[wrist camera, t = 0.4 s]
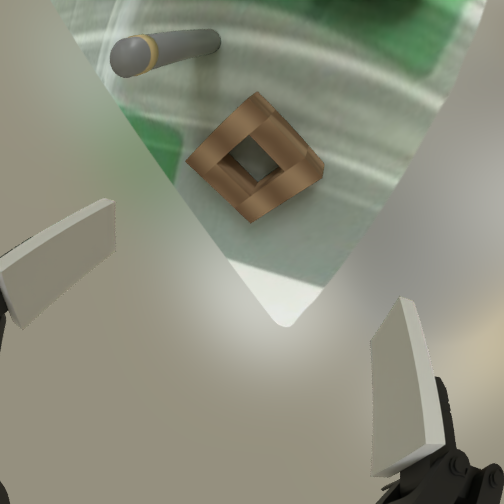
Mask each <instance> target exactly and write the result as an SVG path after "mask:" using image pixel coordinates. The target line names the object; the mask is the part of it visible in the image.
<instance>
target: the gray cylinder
mask: <svg viewBox="0 0 504 504" xmlns="http://www.w3.org/2000/svg"><path fill="white" fill-rule="evenodd" d="M220 44H221V38H220V36H219V34H218V33H217V32H216V31H214V30H212V29H197V30H182V31H171V32H162V33H154V34H147V35H144V34H141V35H135V36H130V37H128V38H124V39H121V40H119V41H118V42H117V43H116V44H115V45H114V47H113V48H112V50H111V54H110V64H111V67H112V69H113V71H114V72H115V73H116V74H117V75H118V76H120V77H124V78H129V77H132V76H138V75H141V74H143V73H146V72H148V71H150V70H152V69H155V68H158V67H161V66H165V65H168V64H171V63H175V62H179V61H182V60H186V59H190V58H194V57H198V56H202V55H207V54H211V53H213V52H215V51H216V50H217V49H218V48H219V46H220Z"/></svg>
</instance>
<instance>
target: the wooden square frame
mask: <svg viewBox="0 0 504 504" xmlns="http://www.w3.org/2000/svg"><path fill="white" fill-rule="evenodd" d="M248 135H250V136H251V137H252V138H253V139H254V140H255V141H256V142H257V143H258V144H259V145H260V146H261V147H262V149H263V150H264V151H265V152H266V153H267V154H268V155H269V156H270V157H271V158H272V159H273V160H274V161H275V162H276V163H277V164H278V165H279V167H278V168H277V169H275V170H274V171H272V172H271V173H270V174H268V175H267V176H266V177H264V178H263V179H262V180H260V181H259V182H257V181H256V180H255V179H254V178H253V177H252V176H251V175H250V174H249V173H248V172H247V171H246V170H245V169H244V168H243V167H242V166H241V165H240V164H239V163H238V162H237V161H236V160H235V159H234V158H233V157H232V156H231V155H230V154H229V152H230V151H231V150H232V149H233V148H234V147H235V146H236V145H238V144H239V143H240V142H241V141H242V140H243V139H244V138H246V137H247V136H248ZM185 162H186V163H187V164H188V165H189V166H190V167H192V168H193V169H194V170H195V171H196V172H197V173H198V174H199V175H200V176H201V177H202V178H203V179H204V180H205V181H206V182H208V183H209V184H210V185H211V186H212V187H213V188H214V189H215V190H216V191H217V192H218V193H219V194H220V195H221V196H222V197H223V198H224V199H226V200H227V201H228V202H229V203H230V204H231V205H232V206H233V207H234V208H235V209H236V210H237V211H238V212H239V213H240V214H241V215H242V216H243V217H244V218H245V219H246V220H248V221H249V222H250V223H252V222H254V221H255V220H257V219H258V218H260V217H261V216H263V215H265V214H266V213H268V212H269V211H271V210H272V209H274V208H275V207H277V206H279V205H280V204H282V203H283V202H285V201H286V200H288V199H290V198H291V197H293V196H294V195H296V194H297V193H299V192H301V191H302V190H304V189H305V188H307V187H309V186H310V185H312V184H313V183H315V182H317V181H318V180H320V179H321V178H322V176H323V170H324V163H323V162H322V161H321V159H320V158H319V157H318V156H317V155H316V154H315V152H314V151H313V150H312V149H311V148H310V147H309V145H308V144H307V143H306V142H305V141H304V140H303V139H302V138H301V136H300V135H299V134H298V133H297V132H296V131H295V130H294V129H293V128H292V127H291V125H290V124H289V123H288V122H287V121H286V120H285V119H284V118H283V117H282V116H281V115H280V114H279V113H278V112H277V111H276V110H275V109H274V108H273V107H272V106H271V104H270V103H269V102H268V101H267V100H266V99H265V98H264V97H263V96H262V95H261V94H260V93H258V92H256V93H254V94H253V95H252V96H250V97H249V98H248V99H247V100H246V101H244V102H243V103H242V104H241V105H240V106H239V107H238V108H237V109H236V110H235V111H234V112H233V113H232V114H231V115H230V116H229V117H228V118H227V119H225V120H224V121H223V122H222V123H221V124H220V125H219V126H218V127H217V128H216V129H215V130H214V131H213V132H212V133H211V134H210V135H209V137H208V138H207V139H206V140H205V141H204V142H203V143H202V144H201V145H200V146H199V147H198V148H197V149H196V150H195V151H194V152H193V153H192V154H191V155H190V157H189V158H188V159H187V160H186V161H185Z"/></svg>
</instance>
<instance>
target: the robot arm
mask: <svg viewBox="0 0 504 504" xmlns="http://www.w3.org/2000/svg"><path fill="white" fill-rule="evenodd" d="M114 252H116V236H115V201H112V200H109V199H106V198H102V199H100V200H98V201H96V202H94V203H92V204H91V205H89V206H87V207H85V208H83V209H81V210H79V211H77V212H75V213H74V214H72V215H70V216H68V217H66V218H64V219H63V220H61V221H59V222H57V223H55V224H54V225H52V226H50V227H49V228H47V229H45V230H44V231H42V232H40V233H38V234H37V235H35V236H34V237H30V238H29V239H27V240H25V241H24V242H22V243H21V245H18V246H16V247H15V248H14V249H11V250H10V251H9V252H7V253H5V254H4V255H3V256H1V257H0V349H1V344H2V338H3V333H4V328H5V324H6V316H5V314H4V313H6V312H7V311H9V313H10V316H11V318H12V320H13V322H14V323H15V324H16V325H18V326H19V327H20V328H21V329H22V330H24V329H25V328H26V327H27V326H28V325H29V324H30V323H31V322H32V321H33V320H34V319H35V318H37V317H38V316H39V315H40V314H41V313H42V312H43V311H44V310H45V309H47V308H48V307H49V306H50V305H51V304H52V303H53V302H54V301H56V300H57V299H58V298H59V297H60V296H61V295H63V294H64V293H65V292H66V291H67V290H68V289H70V288H71V287H72V286H73V285H74V284H75V283H77V282H78V281H79V280H80V279H82V278H83V277H84V276H85V275H87V274H88V273H89V272H90V271H91V270H93V269H94V268H95V267H96V266H98V265H99V264H100V263H102V262H103V261H104V260H105V259H107V258H108V257H109V256H111V255H112V254H113V253H114ZM370 346H371V361H372V385H373V439H372V460H371V475H370V476H371V477H391V476H393V475H395V474H397V473H399V472H400V479H399V480H397V481H395V482H393V483H391V484H389V485H386V486H385V487H383V488H382V489H381V490H382V491H384V490H386V489H388V488H389V490H388V491H387V492H386V493H385V494H384V495H383V496H382V497H381V498H380V500H379V501H378V502H377V503H376V504H500V500H501V495H502V491H503V486H504V473H503V470H502V468H501V467H500V466H499V465H498V464H495V463H493V464H490V465H489V466H487V467H485V468H484V469H482V470H481V469H478V468H476V467H473V466H470V463H469V459H468V457H467V456H466V454H465V453H464V452H462V451H461V450H459V449H457V448H456V442H455V436H454V428H453V421H452V416H451V413H450V405H449V403H448V401H449V400H448V395H447V390H446V388H445V386H444V384H443V382H442V380H441V378H440V377H435V376H434V372H433V368H432V363H431V359H430V355H429V351H428V347H427V344H426V340H425V336H424V333H423V329H422V326H421V322H420V319H419V316H418V313H417V309H416V306H415V303H414V301H412V300H409V299H406V298H404V297H401V296H399V298H398V299H397V301H396V303H395V304H394V306H393V307H392V309H391V311H390V312H389V314H388V315H387V317H386V319H385V320H384V321H383V323H382V325H381V326H380V328H379V329H378V331H377V332H376V334H375V335H374V336H373V338H372V339H371V341H370ZM0 504H10V502H9V497H8V494H7V492H6V489H5V487H4V486H3V484H2V483H1V482H0Z"/></svg>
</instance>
